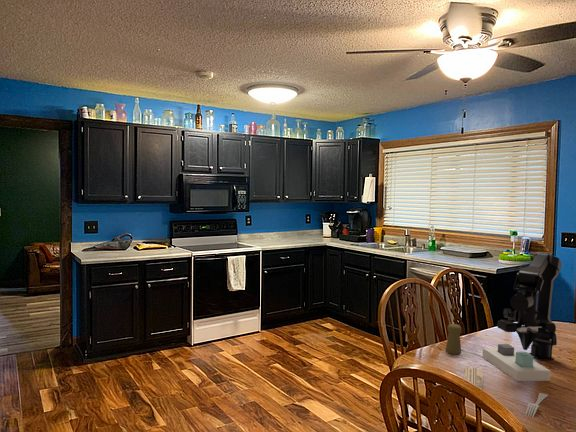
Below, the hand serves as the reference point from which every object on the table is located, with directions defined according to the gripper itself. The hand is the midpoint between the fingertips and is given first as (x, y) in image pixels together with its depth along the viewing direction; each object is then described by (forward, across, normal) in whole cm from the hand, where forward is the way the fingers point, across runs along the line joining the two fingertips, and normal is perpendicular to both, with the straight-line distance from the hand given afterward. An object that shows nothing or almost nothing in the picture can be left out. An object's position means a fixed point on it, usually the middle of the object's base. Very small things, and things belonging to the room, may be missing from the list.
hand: (524, 349), depth 156 cm
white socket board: (+9, 0, -5) cm, 10 cm away
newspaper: (+10, +22, +7) cm, 25 cm away
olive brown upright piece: (+9, +15, -22) cm, 29 cm away
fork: (+10, +10, +22) cm, 26 cm away
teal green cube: (+6, 0, 0) cm, 6 cm away
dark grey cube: (+7, 0, -11) cm, 13 cm away
